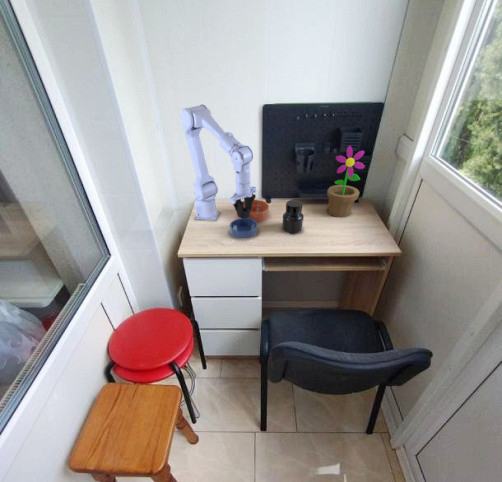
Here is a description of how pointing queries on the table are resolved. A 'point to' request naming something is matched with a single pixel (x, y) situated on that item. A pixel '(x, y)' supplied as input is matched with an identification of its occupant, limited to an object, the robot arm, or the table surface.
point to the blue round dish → (243, 228)
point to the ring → (245, 213)
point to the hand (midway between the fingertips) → (244, 213)
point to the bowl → (258, 211)
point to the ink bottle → (293, 217)
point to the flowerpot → (344, 186)
